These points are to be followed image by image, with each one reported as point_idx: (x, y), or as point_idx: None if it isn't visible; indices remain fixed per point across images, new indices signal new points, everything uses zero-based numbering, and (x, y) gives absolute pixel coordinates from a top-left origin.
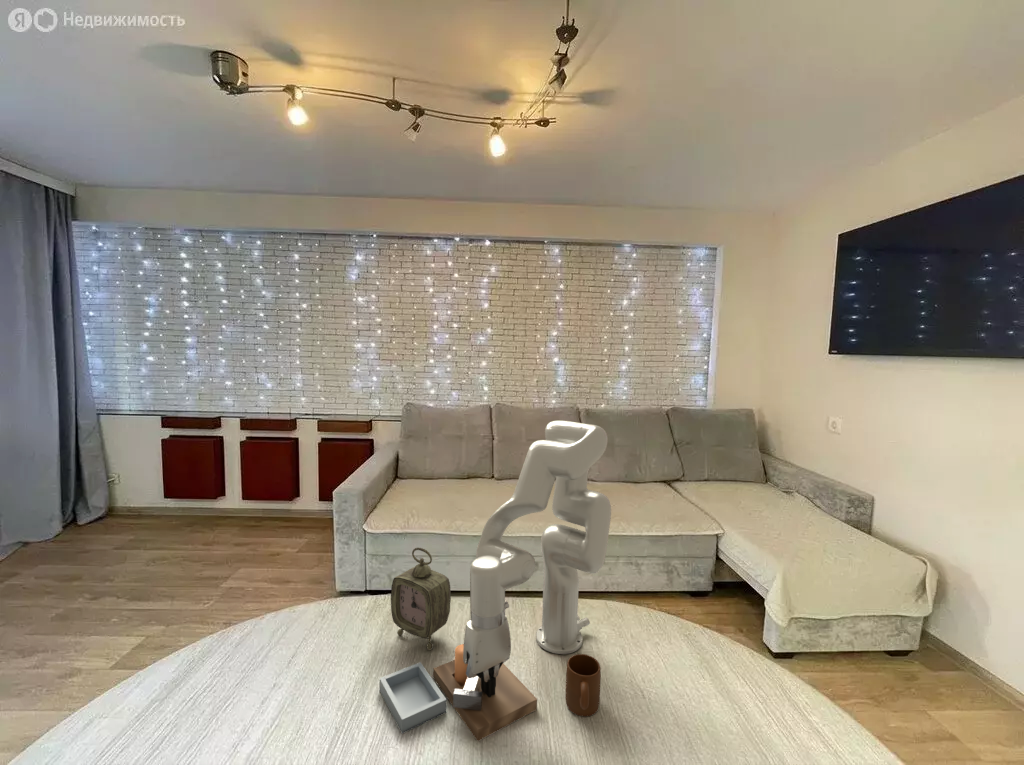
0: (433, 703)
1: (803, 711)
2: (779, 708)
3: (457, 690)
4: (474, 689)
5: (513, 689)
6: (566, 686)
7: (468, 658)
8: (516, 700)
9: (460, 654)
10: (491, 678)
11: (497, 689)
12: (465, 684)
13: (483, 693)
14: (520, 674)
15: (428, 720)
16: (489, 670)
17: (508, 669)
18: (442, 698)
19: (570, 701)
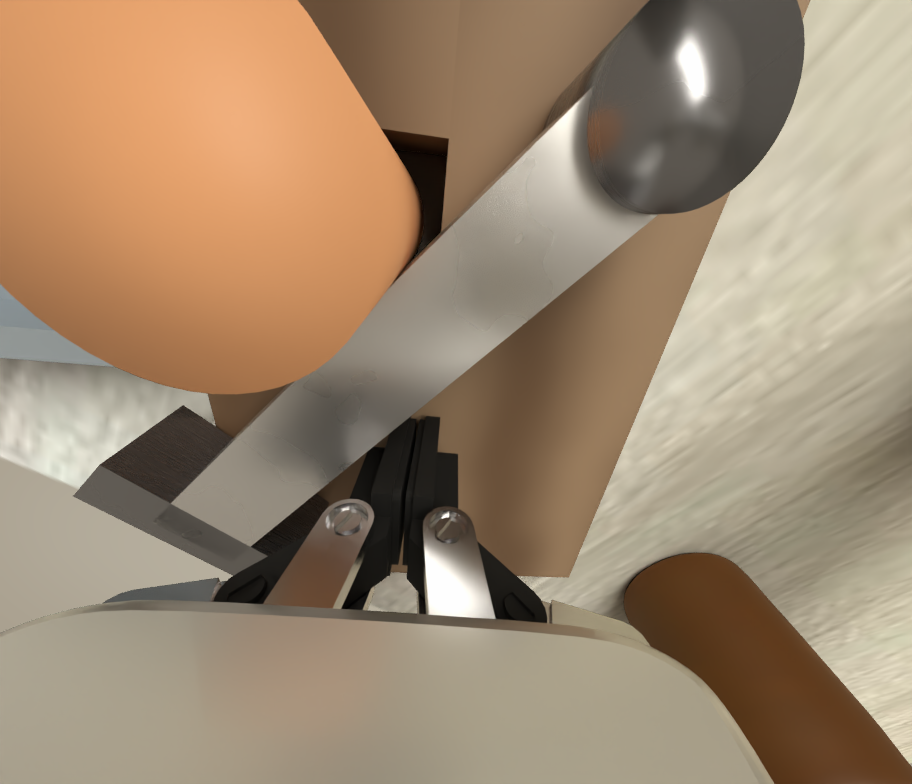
0: (6, 343)
1: (903, 748)
2: (896, 736)
3: (116, 490)
4: (256, 540)
5: (537, 497)
6: (686, 656)
7: (72, 638)
8: (495, 545)
9: (43, 307)
10: (406, 559)
11: (471, 458)
12: (204, 476)
13: (385, 439)
14: (690, 361)
15: None
16: (418, 557)
17: (648, 377)
18: None
19: (643, 629)
